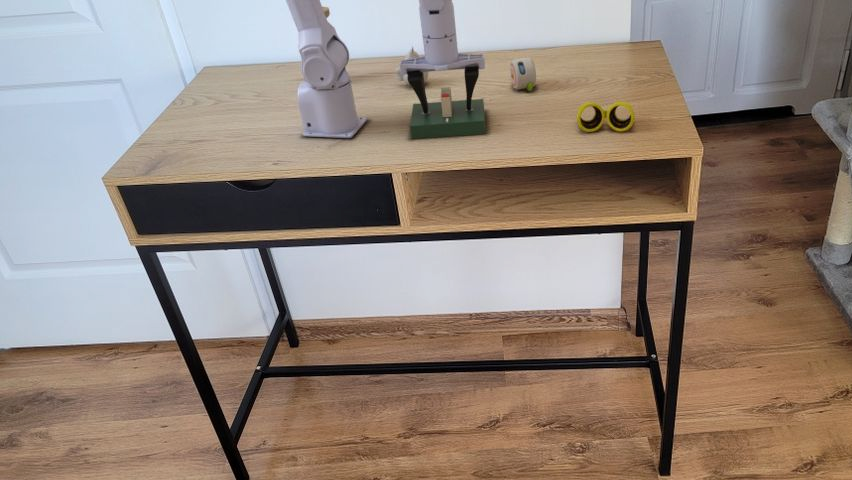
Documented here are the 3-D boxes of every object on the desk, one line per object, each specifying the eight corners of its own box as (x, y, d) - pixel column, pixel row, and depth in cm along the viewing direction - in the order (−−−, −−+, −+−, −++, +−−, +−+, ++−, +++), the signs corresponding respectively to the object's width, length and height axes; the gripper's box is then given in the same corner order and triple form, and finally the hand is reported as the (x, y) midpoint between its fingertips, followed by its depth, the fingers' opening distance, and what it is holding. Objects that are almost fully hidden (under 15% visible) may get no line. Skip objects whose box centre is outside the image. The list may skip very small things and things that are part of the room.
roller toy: (515, 95, 145) (514, 65, 141) (507, 84, 150) (505, 55, 146) (537, 91, 145) (536, 62, 142) (528, 80, 150) (527, 52, 147)
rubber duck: (428, 89, 150) (423, 49, 145) (396, 91, 150) (390, 51, 146) (430, 79, 155) (425, 40, 150) (398, 81, 155) (392, 43, 150)
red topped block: (443, 106, 136) (441, 86, 133) (452, 105, 136) (450, 85, 133) (442, 117, 132) (440, 96, 129) (451, 116, 132) (449, 96, 129)
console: (411, 139, 131) (409, 125, 129) (414, 116, 139) (413, 103, 138) (485, 133, 131) (484, 119, 129) (484, 111, 139) (483, 97, 138)
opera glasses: (632, 125, 132) (633, 97, 130) (634, 132, 127) (635, 103, 125) (577, 126, 133) (577, 98, 131) (577, 133, 128) (577, 104, 126)
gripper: (394, 44, 122) (405, 121, 130) (482, 37, 122) (488, 115, 130) (397, 31, 128) (408, 106, 136) (481, 24, 128) (487, 100, 136)
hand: (447, 109), depth 133 cm, fingers open, 7 cm apart
